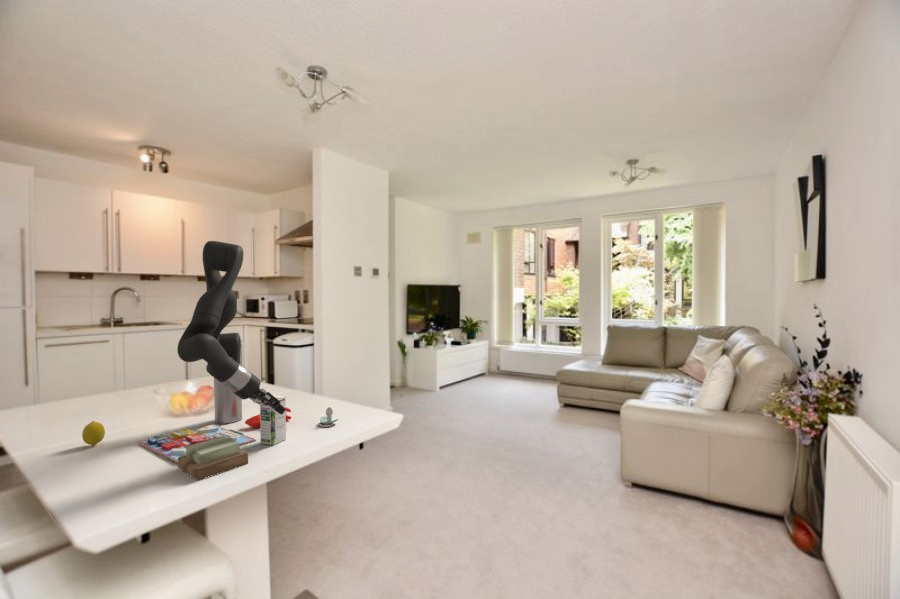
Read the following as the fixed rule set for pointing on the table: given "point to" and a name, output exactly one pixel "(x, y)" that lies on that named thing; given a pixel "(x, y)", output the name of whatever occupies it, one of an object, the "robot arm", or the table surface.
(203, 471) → the plinth
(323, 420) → the pacifier
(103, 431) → the lemon
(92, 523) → the table surface
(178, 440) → the puzzle board
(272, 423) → the syrup box
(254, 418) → the animal figurine
